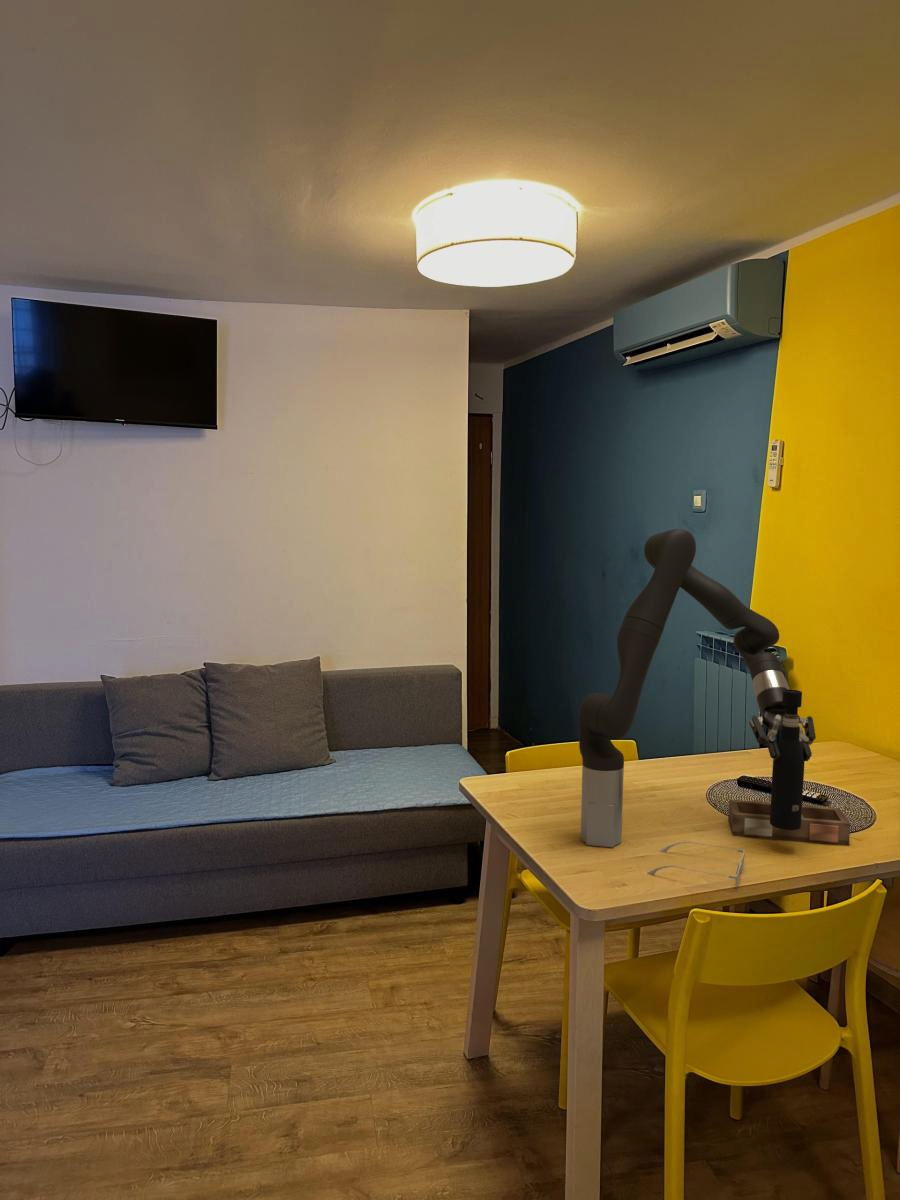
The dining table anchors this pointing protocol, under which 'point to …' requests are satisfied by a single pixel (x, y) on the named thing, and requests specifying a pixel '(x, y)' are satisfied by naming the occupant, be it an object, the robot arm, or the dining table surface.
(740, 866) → the eyeglasses
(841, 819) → the socket board
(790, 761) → the black insulated water bottle
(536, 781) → the dining table surface
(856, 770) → the dining table surface
